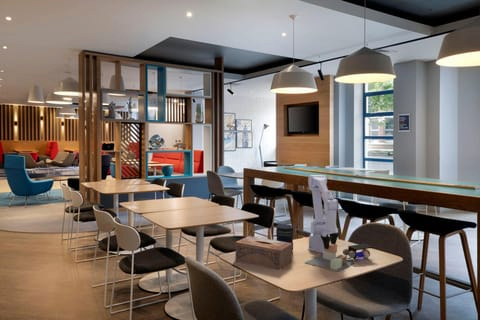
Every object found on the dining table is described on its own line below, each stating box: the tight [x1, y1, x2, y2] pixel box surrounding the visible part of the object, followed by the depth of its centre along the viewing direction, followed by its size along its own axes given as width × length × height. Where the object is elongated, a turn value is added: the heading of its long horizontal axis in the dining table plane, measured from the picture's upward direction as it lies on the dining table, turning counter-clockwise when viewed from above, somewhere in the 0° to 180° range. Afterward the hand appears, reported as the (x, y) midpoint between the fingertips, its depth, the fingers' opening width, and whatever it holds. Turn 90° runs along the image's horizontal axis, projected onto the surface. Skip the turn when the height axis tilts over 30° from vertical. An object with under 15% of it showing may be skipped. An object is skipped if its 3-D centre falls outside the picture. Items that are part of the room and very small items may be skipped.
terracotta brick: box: [324, 242, 338, 254], centre depth 202 cm, size 6×3×4 cm, turn 50°
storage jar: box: [275, 223, 295, 255], centre depth 213 cm, size 10×10×15 cm
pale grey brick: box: [322, 251, 337, 260], centre depth 203 cm, size 6×3×4 cm, turn 50°
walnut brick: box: [336, 254, 348, 266], centre depth 195 cm, size 6×3×4 cm, turn 140°
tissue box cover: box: [234, 235, 293, 270], centre depth 198 cm, size 26×14×10 cm, turn 60°
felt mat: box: [304, 253, 356, 273], centre depth 198 cm, size 19×20×1 cm
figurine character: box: [342, 243, 373, 261], centre depth 204 cm, size 7×8×15 cm
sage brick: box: [330, 258, 342, 270], centre depth 189 cm, size 6×3×4 cm, turn 140°
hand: (329, 247), depth 203 cm, fingers open, 7 cm apart
